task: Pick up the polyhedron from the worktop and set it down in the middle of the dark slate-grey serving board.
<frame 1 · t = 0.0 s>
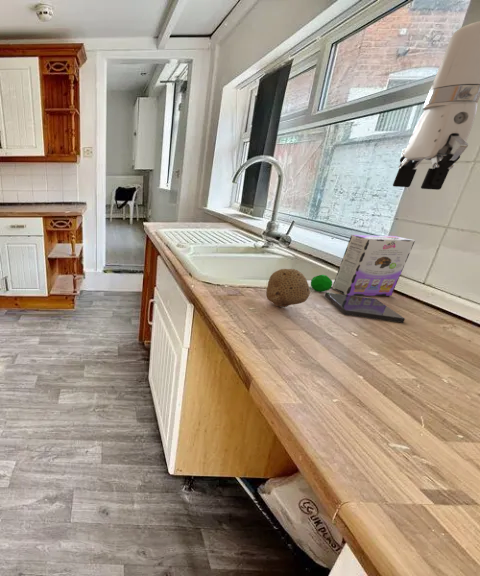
hand: (414, 187, 68), 29 cm above the countertop, tool pointing down, fingers open, 9 cm apart
natural sponge: (281, 308, 77), on the countertop
board: (360, 308, 78), on the countertop
candy box: (360, 292, 89), on the countertop
polyhedron: (318, 291, 89), on the countertop
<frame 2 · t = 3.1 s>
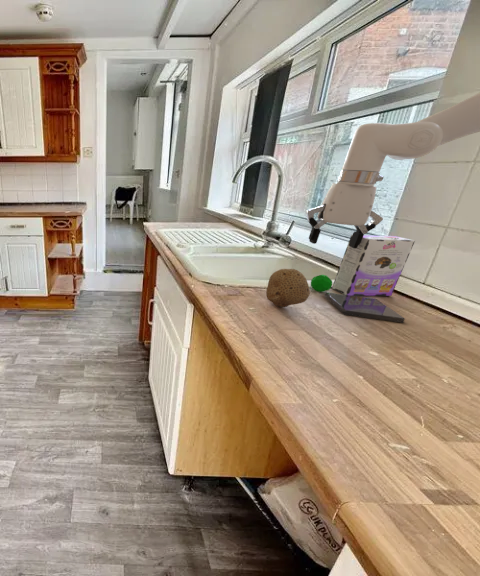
hand: (332, 244, 84), 14 cm above the countertop, tool pointing down, fingers open, 9 cm apart
candy box: (360, 293, 89), on the countertop, touching gripper
everything else where it was.
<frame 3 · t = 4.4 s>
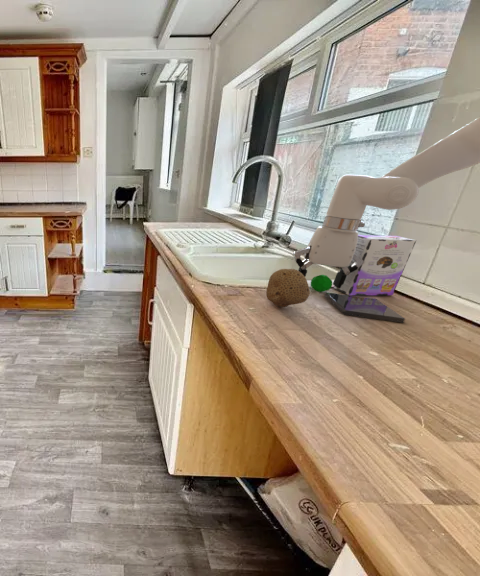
hand: (317, 283, 88), 2 cm above the countertop, tool pointing down, fingers open, 9 cm apart
candy box: (361, 292, 90), on the countertop
everything else where it was.
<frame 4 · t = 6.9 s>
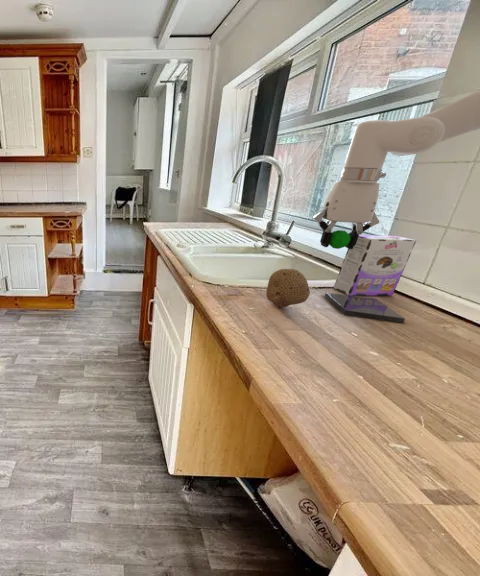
hand: (336, 246, 83), 13 cm above the countertop, tool pointing down, fingers closed on polyhedron, 5 cm apart
polyhedron: (335, 248, 84), point 13 cm above the countertop, touching gripper
everything else where it was.
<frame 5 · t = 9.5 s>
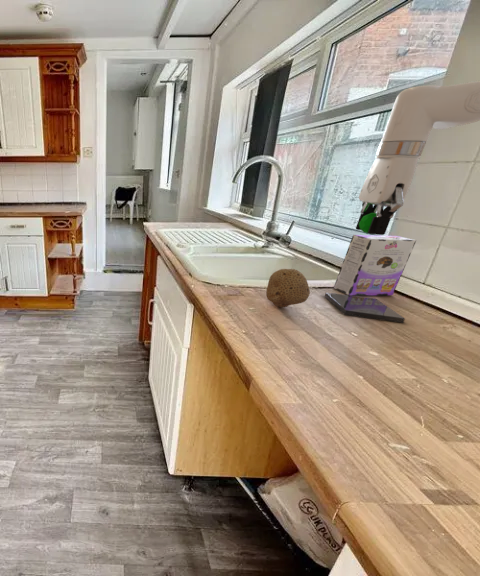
hand: (369, 231, 75), 19 cm above the countertop, tool pointing down, fingers closed on polyhedron, 5 cm apart
polyhedron: (368, 233, 76), point 18 cm above the countertop, touching gripper
everything else where it was.
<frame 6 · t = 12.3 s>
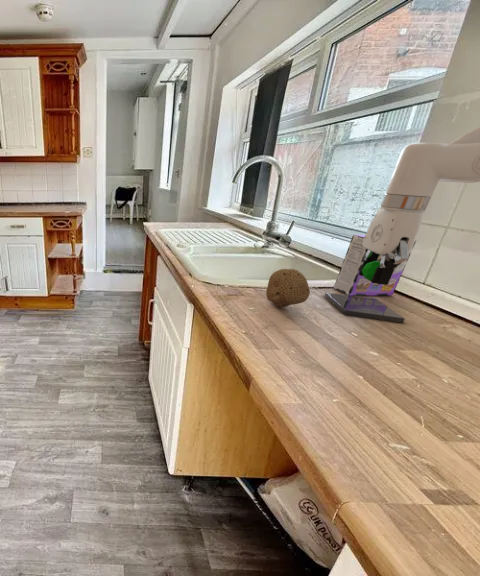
hand: (372, 278, 75), 8 cm above the countertop, tool pointing down, fingers closed on polyhedron, 5 cm apart
polyhedron: (371, 281, 75), point 7 cm above the countertop, touching gripper
everything else where it was.
when the fingers open (2 cm above the countertop, at t = 14.2 s): polyhedron stays where it is, resting on board.
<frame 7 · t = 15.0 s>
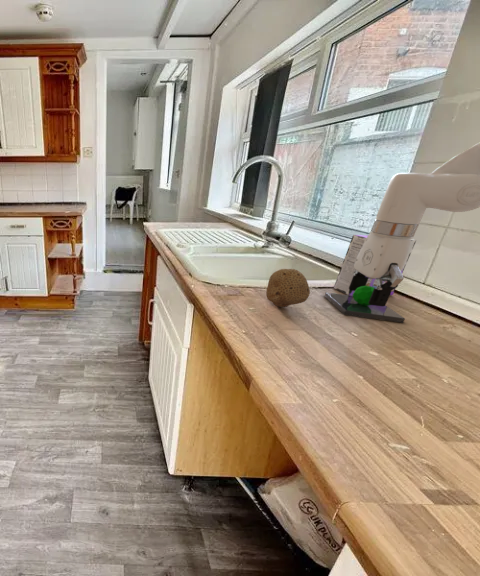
hand: (365, 297, 77), 3 cm above the countertop, tool pointing down, fingers open, 9 cm apart
polyhedron: (362, 304, 78), point 1 cm above the countertop, touching board
everything else where it was.
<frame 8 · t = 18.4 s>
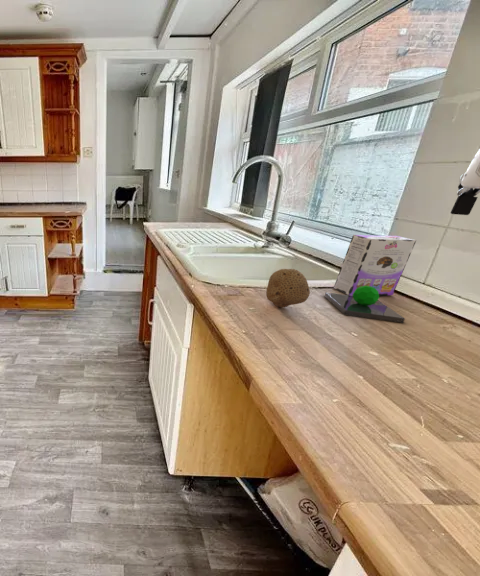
hand: (477, 217, 66), 24 cm above the countertop, tool pointing down, fingers open, 9 cm apart
nothing on the countertop moved.
at the end: polyhedron inside the target area on the board (0.1 cm from its centre), point 1.0 cm above the board's base; polyhedron touching board; the gripper is holding nothing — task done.
